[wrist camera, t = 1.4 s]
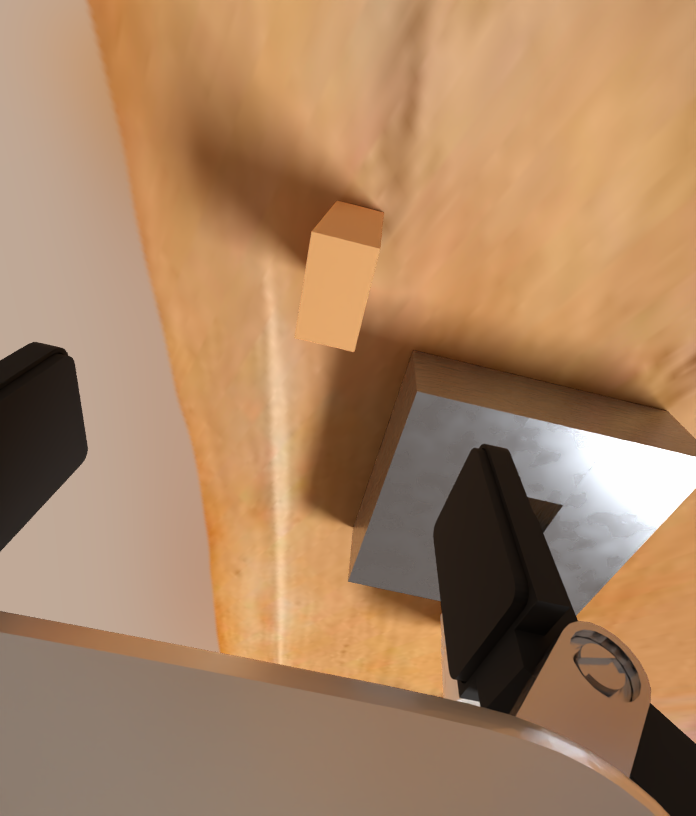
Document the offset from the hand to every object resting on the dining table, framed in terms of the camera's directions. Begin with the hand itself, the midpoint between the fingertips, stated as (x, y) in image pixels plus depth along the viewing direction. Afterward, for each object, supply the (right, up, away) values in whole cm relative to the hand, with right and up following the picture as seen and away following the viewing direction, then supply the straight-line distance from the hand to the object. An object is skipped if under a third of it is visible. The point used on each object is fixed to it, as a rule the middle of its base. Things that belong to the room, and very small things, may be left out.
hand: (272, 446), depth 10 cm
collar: (+14, -5, +27) cm, 31 cm away
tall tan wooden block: (+2, +11, +18) cm, 21 cm away
